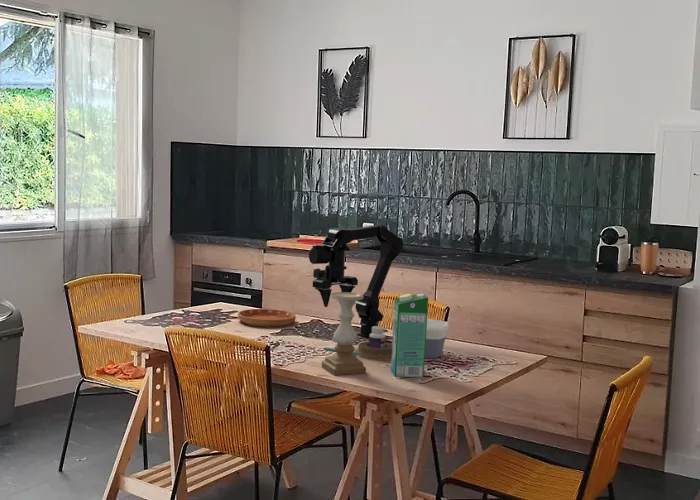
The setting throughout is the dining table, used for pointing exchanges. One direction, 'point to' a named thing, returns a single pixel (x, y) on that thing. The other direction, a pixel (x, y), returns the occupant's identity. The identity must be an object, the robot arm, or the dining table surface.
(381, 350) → the brown faceted ring
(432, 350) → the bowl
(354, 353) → the teal stick
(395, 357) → the milk carton
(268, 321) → the saucer
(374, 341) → the pill bottle
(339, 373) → the candle holder
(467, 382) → the dining table surface
